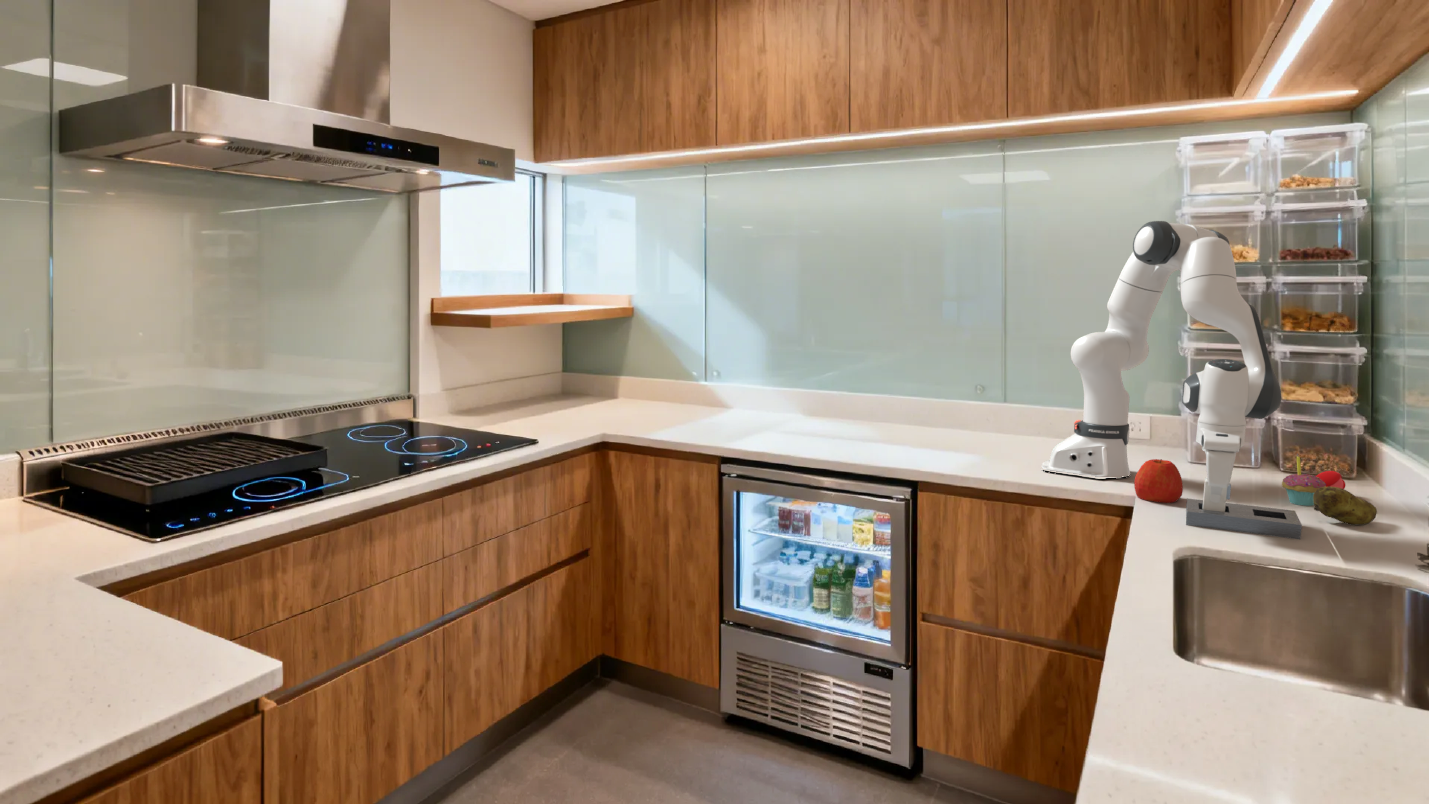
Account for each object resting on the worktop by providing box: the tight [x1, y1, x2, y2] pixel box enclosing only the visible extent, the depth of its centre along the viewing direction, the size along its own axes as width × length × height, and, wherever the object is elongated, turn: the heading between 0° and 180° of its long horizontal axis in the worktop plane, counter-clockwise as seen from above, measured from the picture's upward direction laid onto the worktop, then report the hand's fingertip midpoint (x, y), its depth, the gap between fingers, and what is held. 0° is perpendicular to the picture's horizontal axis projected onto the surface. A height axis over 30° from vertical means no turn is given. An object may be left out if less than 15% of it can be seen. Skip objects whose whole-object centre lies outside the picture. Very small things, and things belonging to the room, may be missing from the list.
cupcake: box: [1281, 453, 1326, 507], centre depth 191 cm, size 9×8×12 cm
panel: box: [1185, 498, 1303, 541], centre depth 173 cm, size 20×12×4 cm, turn 60°
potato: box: [1313, 486, 1378, 526], centre depth 175 cm, size 8×13×8 cm, turn 75°
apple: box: [1134, 458, 1184, 504], centre depth 193 cm, size 10×10×10 cm
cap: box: [1314, 470, 1346, 490], centre depth 199 cm, size 8×6×6 cm
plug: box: [1202, 477, 1232, 512], centre depth 175 cm, size 5×4×9 cm
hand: (1214, 498), depth 175 cm, fingers open, 4 cm apart
